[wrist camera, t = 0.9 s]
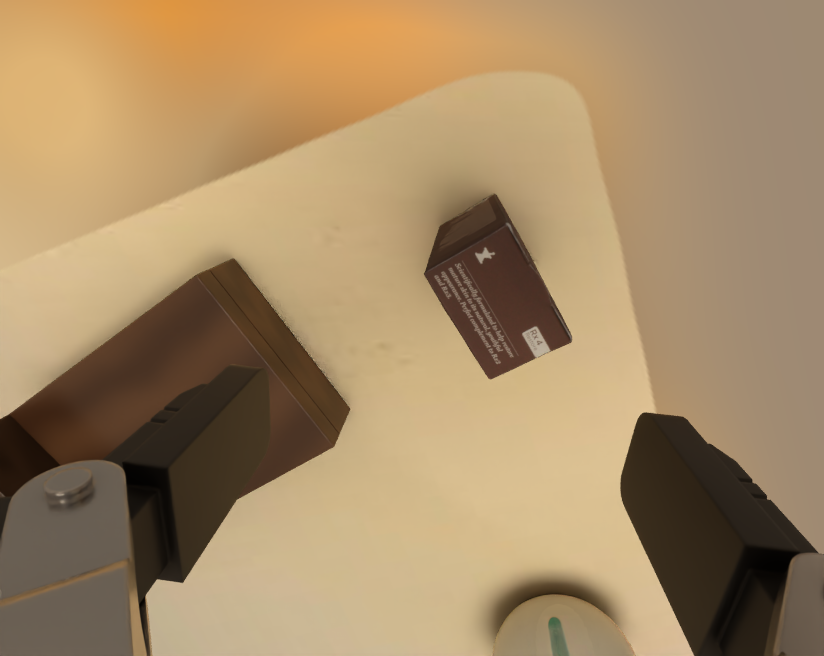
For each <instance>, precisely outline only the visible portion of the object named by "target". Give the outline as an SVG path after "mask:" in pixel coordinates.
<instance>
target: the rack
mask: <svg viewBox="0 0 824 656" xmlns="http://www.w3.org/2000/svg"><path fill="white" fill-rule="evenodd" d="M231 364H233V365H242V366H250V367H259V368H265V369H266V370H267V372H268V375H269V391H270V420H271V435H270V442H269V446H268V449H267V452H266V455H265V457H264V458H263V460H262V462H261V463H260V465H259V466H258V468H257V469H256V471H255V472H254V474H253V476H252V477H251V479H250V480H249V482H248V483H247V485H246V486H245V488H244V489H243V491H242V492H241V494H240V496H239V497H238V499H239V498H241V497H242V496H244V495H246V494H248V493H250V492H252V491H254V490H255V489H257V488H259V487H261V486H263V485H265V484H266V483H268V482H270V481H272V480H274V479H276V478H277V477H279V476H281V475H283V474H285V473H287V472H288V471H290V470H292V469H294V468H296V467H298V466H300V465H301V464H303V463H305V462H307V461H309V460H311V459H312V458H314V457H316V456H318V455H320V454H322V453H323V452H325V451H327V450H329V449H331V448H333V447H334V446H335V444H336V441H337V439H338V437H339V434H340V432H341V429H342V427H343V425H344V422H345V420H346V418H347V415H348V413H349V411H350V408H349V407H348V406H347V404H346V403H345V402H344V401H343V399H342V398H341V397H340V395H339V394H338V393H337V392H336V390H335V389H334V388H333V386H332V385H331V384H330V382H329V381H328V380H327V379H326V377H325V376H324V375H323V373H322V372H321V371H320V370H319V368H318V367H317V366H316V364H315V363H314V362H313V360H312V359H311V358H310V357H309V355H308V354H307V353H306V351H305V350H304V349H303V347H302V346H301V345H300V344H299V342H298V341H297V340H296V338H295V337H294V336H293V335H292V333H291V332H290V331H289V329H288V328H287V327H286V325H285V324H284V323H283V322H282V320H281V319H280V318H279V316H278V315H277V314H276V313H275V311H274V310H273V309H272V307H271V306H270V305H269V303H268V302H267V301H266V300H265V298H264V297H263V296H262V294H261V293H260V292H259V290H258V289H257V288H256V287H255V285H254V284H253V283H252V281H251V280H250V279H249V278H248V276H247V275H246V274H245V272H244V271H243V270H242V268H241V267H240V266H239V265H238V263H237V262H236V261H235V259H231V260H229V261H227V262H224V263H222V264H220V265H218V266H215V267H213V268H211V269H209V270H206V271H204V272H202V273H200V274H198V275H196V276H194V277H193V278H192V279H190V280H189V281H188V282H186V283H185V284H183V285H182V286H181V287H179V288H178V289H177V290H175V291H174V292H173V293H171V294H170V295H169V296H167V297H166V298H165V299H163V300H162V301H161V302H159V303H158V304H157V305H155V306H154V307H153V308H151V309H150V310H149V311H147V312H146V313H145V314H143V315H142V316H141V317H139V318H138V319H136V320H135V321H134V322H132V323H131V324H130V325H128V326H127V327H126V328H124V329H123V330H122V331H120V332H119V333H118V334H116V335H115V336H114V337H112V338H111V339H110V340H108V341H107V342H106V343H104V344H103V345H102V346H100V347H99V348H98V349H96V350H95V351H93V352H92V353H91V354H89V355H88V356H87V357H85V358H84V359H83V360H81V361H80V362H79V363H77V364H76V365H75V366H73V367H72V368H71V369H69V370H68V371H67V372H65V373H64V374H63V375H61V376H60V377H59V378H57V379H56V380H55V381H53V382H52V383H50V384H49V385H48V386H46V387H45V388H44V389H42V390H41V391H40V392H38V393H37V394H36V395H34V396H33V397H32V398H30V399H29V400H28V401H26V402H25V403H24V404H22V405H21V406H20V407H18V408H17V409H16V410H14V411H13V412H12V413H10V414H9V415H7V416H5V417H3V418H2V419H0V497H11V496H14V494H15V493H16V492H17V491H18V490H19V489H20V488H21V487H22V486H23V485H24V484H26V483H27V482H28V481H30V480H31V479H33V478H34V477H36V476H38V475H40V474H42V473H44V472H46V471H48V470H51V469H53V468H56V467H59V466H62V465H65V464H69V463H73V462H78V461H85V460H102V459H104V458H105V457H106V456H107V455H108V454H110V453H111V452H112V451H113V450H114V449H115V448H117V447H118V446H119V445H120V444H121V443H123V442H124V441H125V440H126V439H127V438H128V437H130V436H131V435H132V434H133V433H134V432H135V431H137V430H138V429H139V428H140V427H141V426H143V425H144V424H145V423H146V422H150V420H151V418H152V417H153V416H154V415H156V414H157V413H158V412H159V411H160V410H164V407H165V406H166V405H167V404H168V403H170V402H171V401H172V400H173V399H174V398H176V397H177V396H178V395H179V394H180V393H183V392H185V391H187V390H189V389H191V388H194V387H196V386H198V385H200V384H202V383H204V384H208V383H209V382H211V381H212V380H213V379H214V378H215V377H216V376H217V375H218V374H219V373H221V372H222V371H223V370H224V369H225V368H226V367H227V366H229V365H231Z"/></svg>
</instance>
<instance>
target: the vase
mask: <svg viewBox="0 0 824 656" xmlns="http://www.w3.org/2000/svg"><path fill="white" fill-rule="evenodd" d="M492 656H636V655H635V653H634V651H633V649H632V647H631V645H630V643H629V642H628V640H627V638H626V637H625V635H624V634H623V632H622V631H621V630H620V629H619V627H618V626H617V625H616V624H615V623H614V622H613V621H612V620H611V619H610V618H609V617H608V616H607V615H606V614H605V613H604V612H602V611H601V610H600V609H598V608H597V607H595V606H594V605H592V604H590V603H588V602H586V601H584V600H582V599H579V598H576V597H572V596H568V595H559V594H551V595H543V596H538V597H535V598H532V599H529V600H527V601H525V602H523V603H522V604H520V605H519V606H517V607H516V608H515V609H514V610H513V611H512V612H511V613H510V614H509V615H508V617H507V618H506V619H505V621H504V622H503V624H502V626H501V628H500V629H499V631H498V634H497V636H496V640H495V643H494V647H493V654H492Z"/></svg>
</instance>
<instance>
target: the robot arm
mask: <svg viewBox="0 0 824 656" xmlns="http://www.w3.org/2000/svg"><path fill="white" fill-rule="evenodd" d="M270 435H271V420H270V391H269V375H268V372H267V370H266V369H265V368H259V367H250V366H242V365H233V364H231V365H229V366H227V367H226V368H225V369H224V370H223V371H222V372H221V373H219V374H218V375H217V376H216V377H215V378H214V379H213V380H212V381H211V382H209V383H208V384H204V383H202V384H200V385H198V386H196V387H194V388H191V389H189V390H187V391H185V392H183V393H180V394H179V395H178V396H177V397H176V398H174V399H173V400H172V401H171V402H170V403H168V404H167V405H166V406H165V407H164V410H160V411H159V412H158V413H157V414H156V415H154V416H153V417H152V418H151V420H150V422H146V423H145V424H144V425H143V426H141V427H140V428H139V429H138V430H137V431H135V432H134V433H133V434H132V435H131V436H130V437H128V438H127V439H126V440H125V441H124V442H123V443H121V444H120V445H119V446H118V447H117V448H115V449H114V450H113V451H112V452H111V453H110V454H108V455H107V456H106V457H105V458H104V459H102V460H85V461H78V462H73V463H69V464H65V465H62V466H59V467H56V468H53V469H51V470H48V471H46V472H44V473H42V474H40V475H38V476H36V477H34V478H33V479H31V480H30V481H28V482H27V483H26V484H24V485H23V486H22V487H21V488H20V489H19V490H18V491H17V492H16V493H15V494H14V496H11V497H0V656H153V655H152V645H151V635H150V625H149V615H148V605H147V599H146V594H147V592H148V591H149V590H150V588H151V587H152V585H153V584H154V583H155V581H156V580H157V579H160V580H167V581H174V582H180V583H183V582H184V580H185V579H186V577H187V576H188V574H189V573H190V571H191V569H192V568H193V566H194V565H195V563H196V562H197V560H198V559H199V557H200V556H201V554H202V553H203V551H204V549H205V548H206V546H207V545H208V543H209V542H210V540H211V539H212V537H213V536H214V534H215V532H216V531H217V529H218V528H219V526H220V525H221V523H222V522H223V520H224V519H225V517H226V516H227V514H228V512H229V511H230V509H231V508H232V506H233V505H234V503H235V502H236V500H237V499H238V497H239V496H240V494H241V492H242V491H243V489H244V488H245V486H246V485H247V483H248V482H249V480H250V479H251V477H252V476H253V474H254V472H255V471H256V469H257V468H258V466H259V465H260V463H261V462H262V460H263V458H264V457H265V455H266V452H267V449H268V446H269V442H270ZM621 497H622V501H623V504H624V507H625V509H626V511H627V513H628V515H629V517H630V520H631V522H632V524H633V526H634V528H635V530H636V532H637V535H638V537H639V539H640V541H641V543H642V545H643V547H644V549H645V552H646V554H647V556H648V558H649V560H650V562H651V564H652V566H653V569H654V571H655V573H656V575H657V577H658V579H659V581H660V584H661V586H662V588H663V590H664V592H665V594H666V596H667V598H668V601H669V603H670V605H671V607H672V609H673V611H674V613H675V615H676V618H677V620H678V622H679V624H680V626H681V628H682V630H683V633H684V635H685V637H686V639H687V641H688V643H689V645H690V647H691V650H692V652H693V654H694V656H824V554H819V553H818V552H817V551H816V550H815V548H814V547H813V546H812V545H811V544H810V543H809V542H808V541H807V540H806V539H805V537H804V536H803V535H802V534H801V533H800V532H799V531H798V530H797V529H796V527H795V526H794V525H793V524H792V523H791V522H790V521H789V520H788V519H787V518H786V517H785V515H784V514H783V513H782V512H781V511H780V510H779V509H778V507H777V506H776V505H775V504H774V503H773V502H772V501H771V500H767V495H766V494H765V493H764V492H763V491H762V490H761V489H760V488H759V486H758V485H757V484H754V483H752V479H751V478H750V477H749V475H748V474H747V473H746V472H745V471H744V470H743V469H742V468H741V467H740V465H739V464H738V463H737V462H736V461H735V460H733V459H732V458H730V457H729V456H727V455H726V454H724V453H723V452H722V451H720V450H719V449H717V448H716V447H714V446H713V445H711V444H707V442H706V441H705V440H704V439H703V438H702V437H701V435H700V434H699V433H698V432H697V431H696V430H695V429H694V427H693V426H692V425H691V424H690V423H689V422H688V420H687V419H685V418H684V417H680V416H671V415H663V414H654V413H642V414H641V415H640V416H639V418H638V420H637V423H636V426H635V429H634V433H633V436H632V440H631V443H630V447H629V450H628V454H627V457H626V461H625V464H624V468H623V471H622V475H621Z"/></svg>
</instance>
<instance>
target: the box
mask: <svg viewBox="0 0 824 656" xmlns="http://www.w3.org/2000/svg"><path fill="white" fill-rule="evenodd" d="M424 275H425V277H426V278H427V280H428V282H429V284H430V285H431V287H432V289H433V290H434V292H435V294H436V295H437V297H438V299H439V301H440V302H441V304H442V306H443V308H444V309H445V311H446V312H447V314H448V316H449V317H450V319H451V320H452V322H453V323H454V325H455V326H456V328H457V329H458V331H459V333H460V334H461V336H462V337H463V339H464V341H465V342H466V344H467V346H468V347H469V349H470V350H471V352H472V354H473V355H474V357H475V358H476V360H477V361H478V363H479V364H480V366H481V368H482V369H483V370H484V372H485V374H486V375H487V377H488V378H489V379H493V378H495V377H497V376H499V375H502V374H504V373H506V372H508V371H510V370H512V369H515V368H517V367H519V366H521V365H523V364H525V363H527V362H529V361H531V360H533V359H535V358H537V357H540V356H542V355H544V354H546V353H548V352H551V351H553V350H555V349H558V348H560V347H562V346H565V345H567V344H569V343H571V342H572V336H571V333H570V331H569V329H568V327H567V325H566V323H565V321H564V319H563V317H562V315H561V313H560V312H559V310H558V308H557V306H556V304H555V302H554V300H553V299H552V297H551V295H550V293H549V291H548V289H547V287H546V285H545V283H544V281H543V280H542V278H541V276H540V274H539V272H538V270H537V268H536V266H535V264H534V262H533V260H532V258H531V256H530V254H529V252H528V250H527V249H526V247H525V245H524V243H523V241H522V239H521V238H520V236H519V234H518V232H517V230H516V229H515V227H514V225H513V223H512V221H511V219H510V218H509V216H508V214H507V212H506V211H505V209H504V207H503V205H502V204H501V202H500V200H499V199H498V197H497V195H496V194H493V195H491V196H489V197H488V198H485V199H483V200H482V201H481V202H479V203H478V204H476V205H474V206H473V207H471V208H469V209H467V210H466V211H465V212H463V213H461V214H460V215H458V216H456V217H455V218H453V219H451V220H450V221H448V222H446V223H445V224H443V225H441V226H440V227H439V230H438V233H437V236H436V239H435V242H434V246H433V249H432V252H431V255H430V258H429V261H428V264H427V268H426V271H425V273H424Z"/></svg>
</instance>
